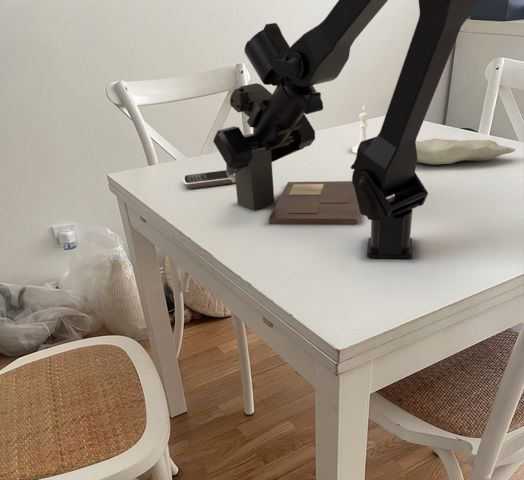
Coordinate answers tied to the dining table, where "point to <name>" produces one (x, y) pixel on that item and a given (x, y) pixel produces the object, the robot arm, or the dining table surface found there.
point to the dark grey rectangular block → (256, 181)
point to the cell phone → (208, 179)
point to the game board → (316, 203)
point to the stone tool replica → (458, 150)
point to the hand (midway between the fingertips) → (248, 167)
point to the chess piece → (363, 124)
